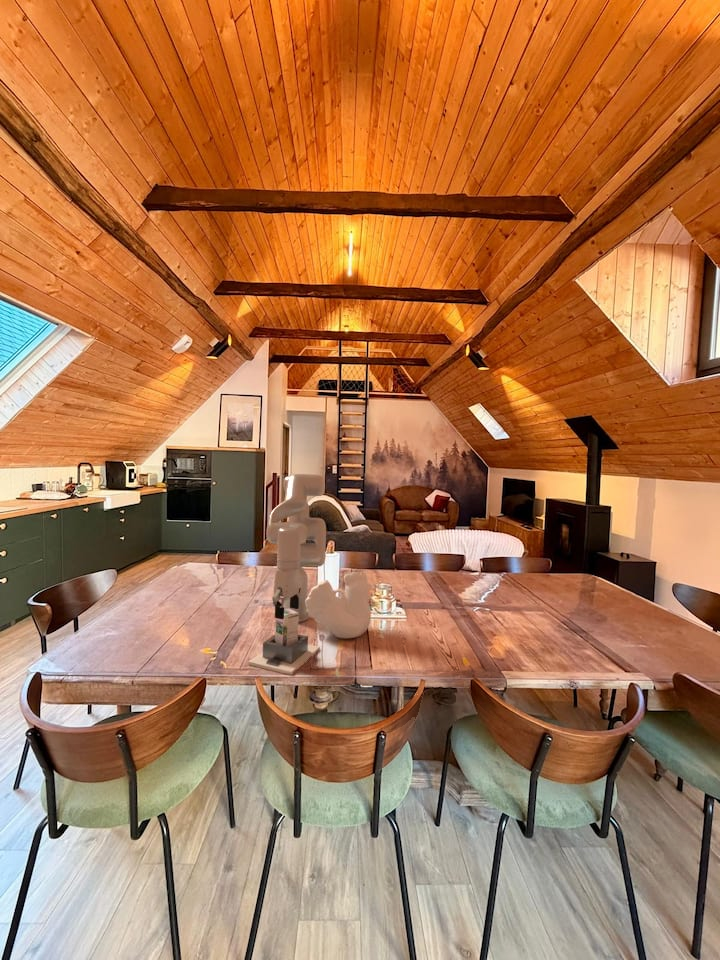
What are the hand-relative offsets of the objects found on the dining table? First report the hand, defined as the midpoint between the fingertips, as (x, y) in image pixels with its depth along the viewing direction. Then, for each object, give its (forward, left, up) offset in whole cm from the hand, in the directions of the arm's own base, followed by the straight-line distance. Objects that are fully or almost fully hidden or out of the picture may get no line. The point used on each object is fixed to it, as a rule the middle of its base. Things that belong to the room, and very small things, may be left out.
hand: (287, 613), depth 149 cm
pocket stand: (+1, 0, -15) cm, 15 cm away
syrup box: (0, 0, -14) cm, 14 cm away
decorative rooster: (-25, +8, -15) cm, 31 cm away
